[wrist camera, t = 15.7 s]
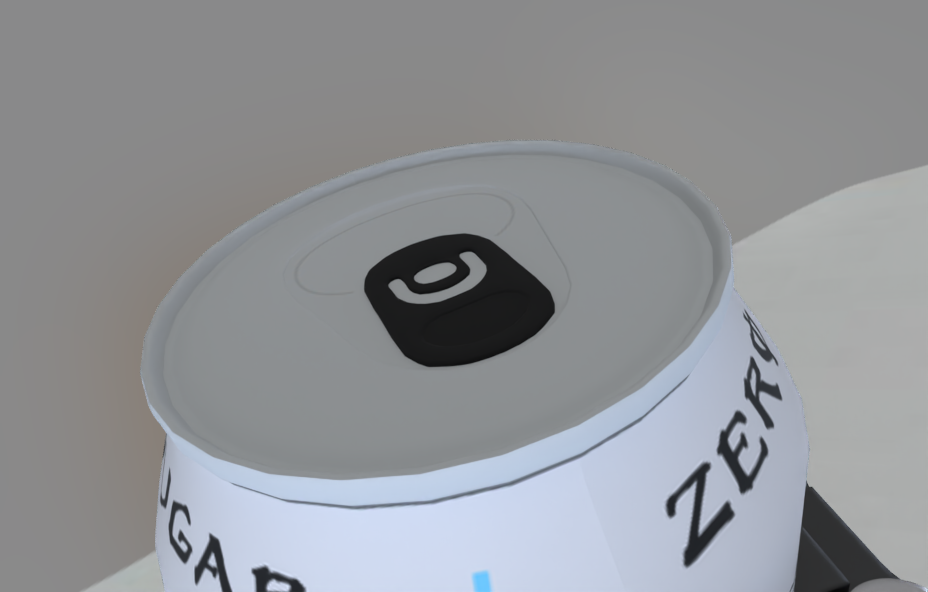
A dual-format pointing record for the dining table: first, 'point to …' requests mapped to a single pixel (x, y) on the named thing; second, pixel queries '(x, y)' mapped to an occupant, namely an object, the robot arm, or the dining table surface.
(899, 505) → the dining table surface
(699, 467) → the energy drink can
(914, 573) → the dining table surface
